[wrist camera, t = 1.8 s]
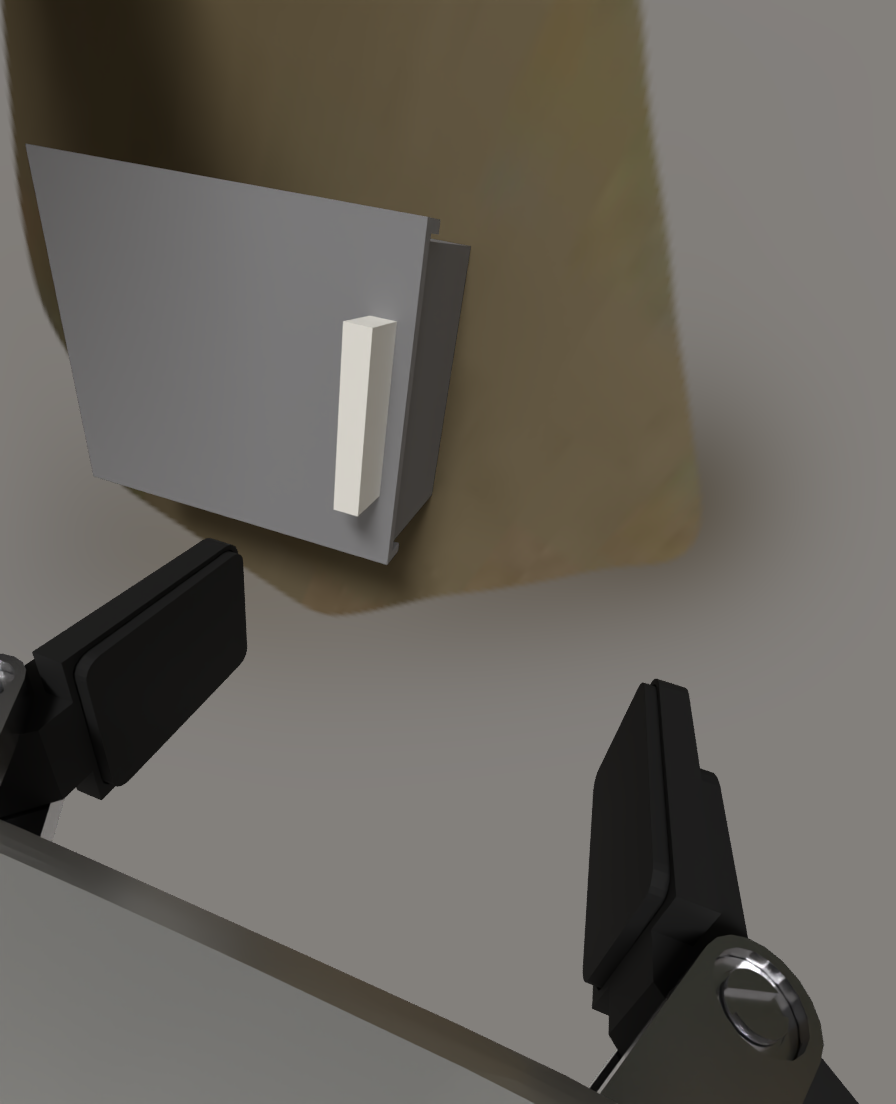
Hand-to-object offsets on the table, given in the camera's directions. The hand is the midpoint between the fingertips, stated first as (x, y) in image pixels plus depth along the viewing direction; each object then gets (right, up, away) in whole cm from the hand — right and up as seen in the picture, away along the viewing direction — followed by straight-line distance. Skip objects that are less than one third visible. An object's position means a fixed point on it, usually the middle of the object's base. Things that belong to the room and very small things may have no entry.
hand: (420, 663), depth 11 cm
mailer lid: (-10, +11, +16) cm, 22 cm away
